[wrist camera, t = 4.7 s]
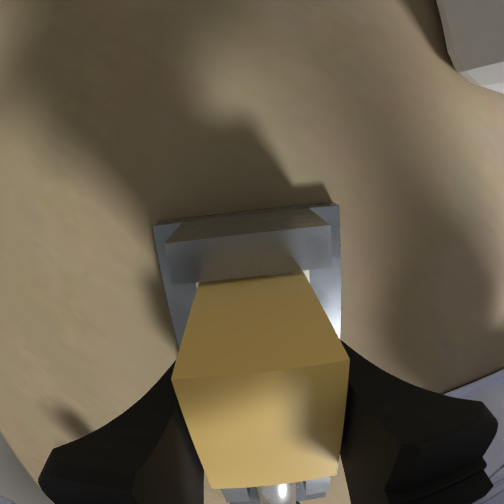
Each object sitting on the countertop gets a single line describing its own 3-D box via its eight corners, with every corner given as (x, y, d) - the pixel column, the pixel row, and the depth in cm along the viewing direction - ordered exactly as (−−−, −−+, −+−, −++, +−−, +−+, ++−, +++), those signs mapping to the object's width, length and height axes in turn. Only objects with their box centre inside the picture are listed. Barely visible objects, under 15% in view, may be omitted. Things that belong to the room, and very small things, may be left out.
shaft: (299, 409, 18) (310, 456, 14) (300, 500, 22) (305, 533, 18) (236, 416, 18) (236, 465, 14) (256, 504, 22) (259, 539, 18)
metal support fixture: (332, 202, 16) (368, 221, 11) (323, 488, 24) (332, 527, 19) (157, 222, 16) (126, 248, 11) (231, 499, 24) (231, 538, 19)
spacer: (302, 269, 12) (349, 359, 7) (305, 370, 14) (336, 475, 8) (199, 280, 12) (170, 379, 7) (219, 380, 14) (212, 488, 8)
